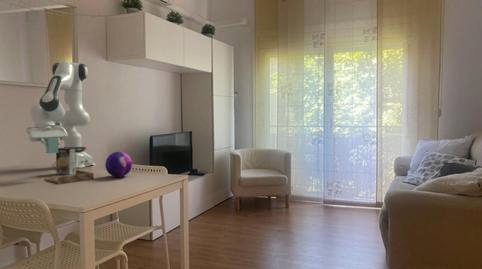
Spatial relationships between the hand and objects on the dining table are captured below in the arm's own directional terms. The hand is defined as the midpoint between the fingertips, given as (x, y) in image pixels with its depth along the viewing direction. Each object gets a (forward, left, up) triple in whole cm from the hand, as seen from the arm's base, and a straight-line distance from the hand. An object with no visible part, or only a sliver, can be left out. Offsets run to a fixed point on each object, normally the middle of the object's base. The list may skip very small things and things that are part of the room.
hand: (52, 145), depth 204 cm
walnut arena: (-5, +7, -20) cm, 22 cm away
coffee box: (-14, -14, -20) cm, 28 cm away
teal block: (0, -1, -4) cm, 4 cm away
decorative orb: (-29, +20, -20) cm, 40 cm away
